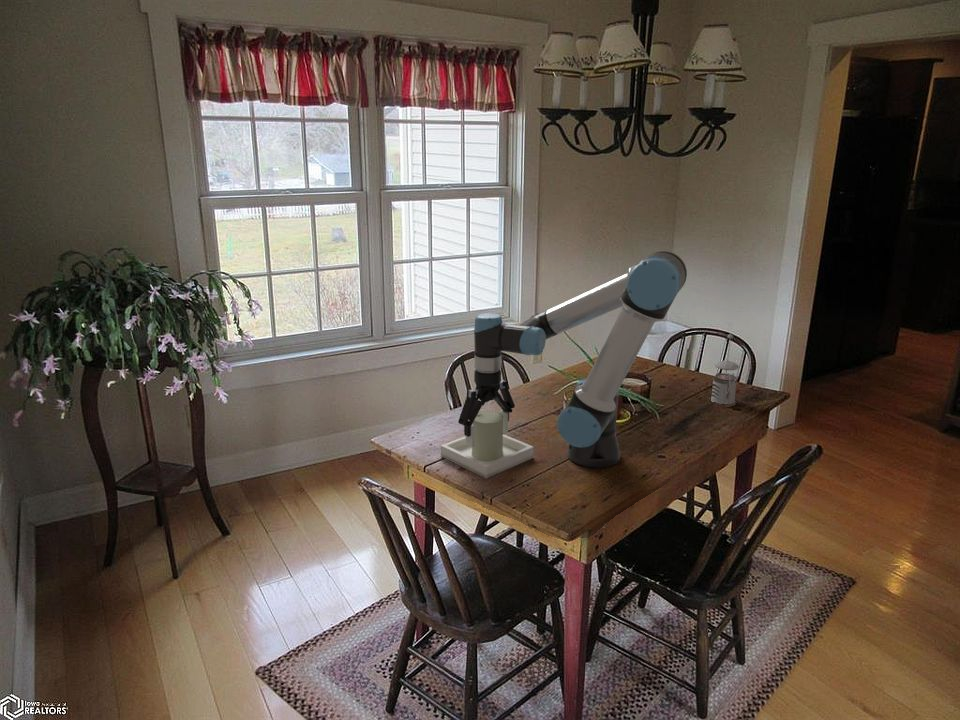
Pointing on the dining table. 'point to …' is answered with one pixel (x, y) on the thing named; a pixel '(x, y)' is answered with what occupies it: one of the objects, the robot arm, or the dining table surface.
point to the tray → (511, 457)
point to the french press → (724, 382)
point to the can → (488, 436)
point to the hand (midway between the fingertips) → (487, 439)
